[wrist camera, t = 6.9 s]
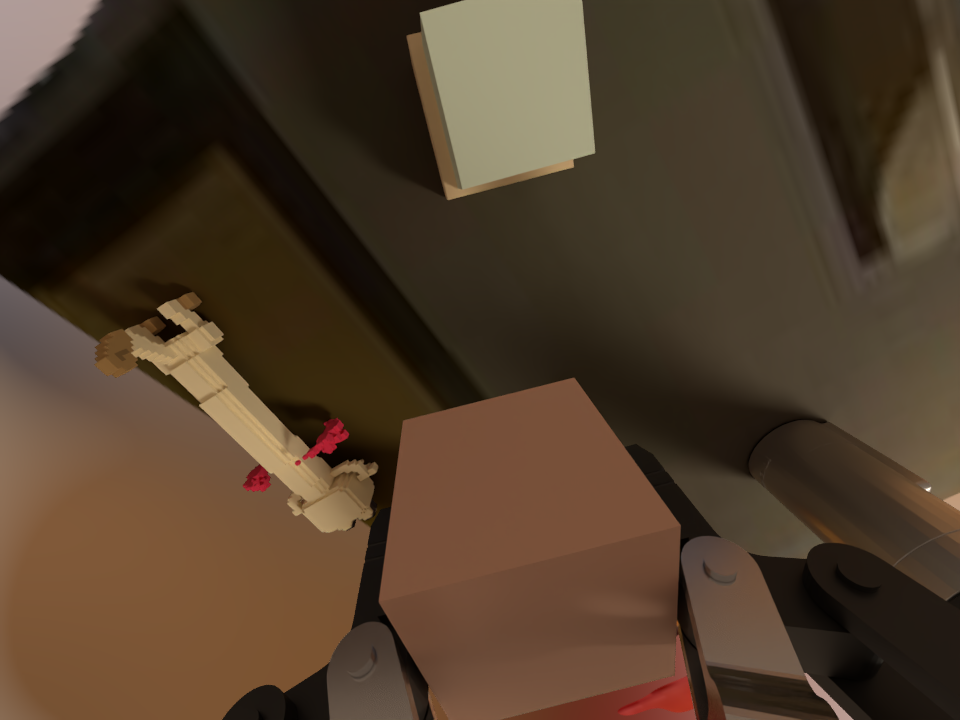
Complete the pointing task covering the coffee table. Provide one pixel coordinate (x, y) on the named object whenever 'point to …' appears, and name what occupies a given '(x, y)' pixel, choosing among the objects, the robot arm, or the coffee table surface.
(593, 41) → the coffee table surface
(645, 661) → the terracotta cube
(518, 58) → the sage block
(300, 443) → the beige elongated piece
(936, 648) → the robot arm
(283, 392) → the coffee table surface
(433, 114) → the oak block
